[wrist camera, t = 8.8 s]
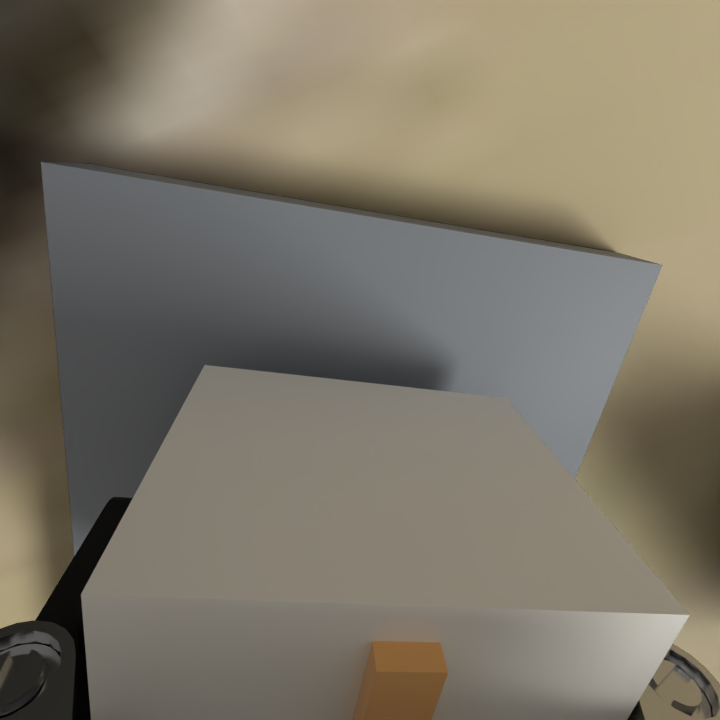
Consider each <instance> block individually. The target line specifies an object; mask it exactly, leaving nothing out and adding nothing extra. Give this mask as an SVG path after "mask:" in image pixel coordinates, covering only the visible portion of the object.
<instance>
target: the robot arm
mask: <svg viewBox="0 0 720 720" xmlns="http://www.w3.org/2000/svg"><path fill="white" fill-rule="evenodd" d="M132 499H133V498H126V497H113V498H111V499H110V500H109V501H108V502H107V504H106V505H105V507H104V508H103V510H102V512H101V513H100V515H99V517H98V518H97V520H96V522H95V523H94V525H93V527H92V528H91V530H90V532H89V533H88V535H87V536H86V538H85V540H84V541H83V543H82V545H81V546H80V548H79V550H78V551H77V553H76V555H75V556H74V558H73V560H72V561H71V563H70V564H69V566H68V568H67V569H66V571H65V573H64V574H63V576H62V578H61V579H60V581H59V583H58V584H57V586H56V588H55V589H54V591H53V593H52V594H51V596H50V597H49V599H48V601H47V602H46V604H45V606H44V607H43V609H42V611H41V612H40V614H39V616H38V617H37V619H36V621H28V622H21V623H16V624H13V625H10V626H7V627H4V628H1V629H0V720H91V713H90V701H89V689H88V676H87V664H86V651H85V639H84V626H83V614H82V601H81V593H82V591H83V590H84V588H85V586H86V584H87V582H88V580H89V579H90V577H91V575H92V573H93V571H94V569H95V567H96V566H97V564H98V562H99V560H100V558H101V556H102V554H103V553H104V551H105V549H106V547H107V545H108V543H109V541H110V540H111V538H112V536H113V534H114V532H115V530H116V528H117V527H118V525H119V523H120V521H121V519H122V517H123V515H124V514H125V512H126V510H127V508H128V506H129V504H130V502H131V501H132ZM627 720H720V684H719V682H718V681H717V680H716V679H715V678H714V676H713V675H712V674H711V673H710V672H709V671H708V670H707V668H706V667H704V666H703V665H702V664H701V663H700V662H699V661H697V660H696V659H695V658H694V657H693V656H692V655H690V654H689V653H687V652H686V651H684V650H682V649H681V648H679V647H678V646H676V645H674V644H672V646H671V647H670V649H669V651H668V652H667V654H666V656H665V657H664V659H663V661H662V662H661V664H660V666H659V667H658V669H657V671H656V672H655V674H654V676H653V677H652V679H651V681H650V682H649V684H648V686H647V687H646V689H645V691H644V692H643V694H642V696H641V697H640V699H639V701H638V702H637V704H636V706H635V707H634V709H633V711H632V712H631V714H630V716H629V717H628V719H627Z"/></svg>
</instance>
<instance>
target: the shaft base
mask: <svg viewBox="0 0 720 720" xmlns="http://www.w3.org/2000/svg"><path fill="white" fill-rule="evenodd" d="M41 170H42V182H43V194H44V205H45V217H46V229H47V241H48V253H49V264H50V276H51V288H52V300H53V312H54V323H55V335H56V347H57V359H58V370H59V382H60V394H61V406H62V418H63V429H64V441H65V453H66V465H67V477H68V488H69V500H70V512H71V524H72V536H73V547H74V556H75V555H76V553H77V551H78V550H79V548H80V546H81V545H82V543H83V541H84V540H85V538H86V536H87V535H88V533H89V532H90V530H91V528H92V527H93V525H94V523H95V522H96V520H97V518H98V517H99V515H100V513H101V512H102V510H103V508H104V507H105V505H106V504H107V502H108V501H109V500H110V499H111V498H113V497H126V498H133V497H134V495H135V493H136V491H137V489H138V488H139V486H140V484H141V482H142V480H143V478H144V476H145V475H146V473H147V471H148V469H149V467H150V465H151V463H152V462H153V460H154V458H155V456H156V454H157V452H158V450H159V449H160V447H161V445H162V443H163V441H164V439H165V437H166V436H167V434H168V432H169V430H170V428H171V426H172V425H173V423H174V421H175V419H176V417H177V415H178V413H179V412H180V410H181V408H182V406H183V404H184V402H185V400H186V399H187V397H188V395H189V393H190V391H191V389H192V387H193V386H194V384H195V382H196V380H197V378H198V376H199V374H200V373H201V371H202V369H203V367H204V365H210V366H219V367H229V368H238V369H247V370H256V371H265V372H274V373H284V374H293V375H302V376H311V377H320V378H329V379H338V380H348V381H357V382H366V383H375V384H384V385H393V386H402V387H412V388H421V389H430V390H439V391H448V392H457V393H467V394H476V395H485V396H494V397H503V398H506V399H507V400H508V401H509V402H510V403H511V405H512V406H513V407H514V408H515V409H516V410H517V412H518V413H519V414H520V415H521V416H522V418H523V419H524V420H525V421H526V422H527V423H528V425H529V426H530V427H531V428H532V429H533V431H534V432H535V433H536V434H537V435H538V436H539V438H540V439H541V440H542V441H543V442H544V443H545V445H546V446H547V447H548V448H549V449H550V451H551V452H552V453H553V454H554V455H555V456H556V458H557V459H558V460H559V461H560V462H561V464H562V465H563V466H564V467H565V468H566V469H567V471H568V472H569V473H570V474H571V475H572V477H573V478H574V479H575V477H576V475H577V472H578V470H579V467H580V465H581V462H582V460H583V458H584V455H585V453H586V450H587V448H588V445H589V443H590V440H591V438H592V436H593V433H594V431H595V428H596V426H597V423H598V421H599V418H600V416H601V414H602V411H603V409H604V406H605V404H606V401H607V399H608V396H609V394H610V392H611V389H612V387H613V384H614V382H615V379H616V377H617V375H618V372H619V370H620V367H621V365H622V362H623V360H624V357H625V355H626V353H627V350H628V348H629V345H630V343H631V340H632V338H633V335H634V333H635V331H636V328H637V326H638V323H639V321H640V318H641V316H642V313H643V311H644V309H645V306H646V304H647V301H648V299H649V296H650V294H651V291H652V289H653V287H654V284H655V282H656V279H657V277H658V274H659V272H660V270H661V267H662V265H660V264H656V263H653V262H649V261H646V260H642V259H638V258H635V257H631V256H628V255H624V254H620V253H616V252H610V251H604V250H598V249H592V248H586V247H580V246H574V245H568V244H562V243H556V242H550V241H544V240H538V239H532V238H527V237H521V236H515V235H509V234H503V233H497V232H491V231H485V230H479V229H473V228H467V227H461V226H455V225H449V224H443V223H437V222H431V221H425V220H419V219H413V218H407V217H402V216H396V215H390V214H384V213H378V212H372V211H366V210H360V209H354V208H348V207H342V206H336V205H330V204H324V203H318V202H312V201H306V200H300V199H294V198H288V197H282V196H277V195H271V194H265V193H259V192H253V191H247V190H241V189H235V188H229V187H223V186H217V185H211V184H205V183H199V182H193V181H187V180H181V179H175V178H169V177H163V176H157V175H152V174H146V173H140V172H134V171H128V170H122V169H116V168H110V167H104V166H98V165H92V164H86V163H71V162H41Z"/></svg>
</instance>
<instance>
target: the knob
mask: <svg viewBox="0 0 720 720" xmlns="http://www.w3.org/2000/svg"><path fill="white" fill-rule="evenodd" d="M81 601H82V614H83V626H84V639H85V651H86V664H87V676H88V689H89V701H90V713H91V720H627V719H628V717H629V716H630V714H631V712H632V711H633V709H634V707H635V706H636V704H637V702H638V701H639V699H640V697H641V696H642V694H643V692H644V691H645V689H646V687H647V686H648V684H649V682H650V681H651V679H652V677H653V676H654V674H655V672H656V671H657V669H658V667H659V666H660V664H661V662H662V661H663V659H664V657H665V656H666V654H667V652H668V651H669V649H670V647H671V646H672V644H673V642H674V641H675V639H676V637H677V636H678V634H679V632H680V631H681V629H682V627H683V626H684V624H685V622H686V621H687V619H688V617H689V616H690V615H689V613H688V612H687V611H686V610H685V609H684V608H683V606H682V605H681V604H680V603H679V602H678V600H677V599H676V598H675V597H674V596H673V595H672V593H671V592H670V591H669V590H668V589H667V588H666V586H665V585H664V584H663V583H662V582H661V580H660V579H659V578H658V577H657V576H656V575H655V573H654V572H653V571H652V570H651V569H650V567H649V566H648V565H647V564H646V563H645V562H644V560H643V559H642V558H641V557H640V556H639V554H638V553H637V552H636V551H635V550H634V549H633V547H632V546H631V545H630V544H629V543H628V541H627V540H626V539H625V538H624V537H623V536H622V534H621V533H620V532H619V531H618V530H617V528H616V527H615V526H614V525H613V524H612V523H611V521H610V520H609V519H608V518H607V517H606V515H605V514H604V513H603V512H602V511H601V510H600V508H599V507H598V506H597V505H596V504H595V503H594V501H593V500H592V499H591V498H590V497H589V495H588V494H587V493H586V492H585V491H584V490H583V488H582V487H581V486H580V485H579V484H578V482H577V481H576V480H575V479H574V478H573V477H572V475H571V474H570V473H569V472H568V471H567V469H566V468H565V467H564V466H563V465H562V464H561V462H560V461H559V460H558V459H557V458H556V456H555V455H554V454H553V453H552V452H551V451H550V449H549V448H548V447H547V446H546V445H545V443H544V442H543V441H542V440H541V439H540V438H539V436H538V435H537V434H536V433H535V432H534V431H533V429H532V428H531V427H530V426H529V425H528V423H527V422H526V421H525V420H524V419H523V418H522V416H521V415H520V414H519V413H518V412H517V410H516V409H515V408H514V407H513V406H512V405H511V403H510V402H509V401H508V400H507V399H506V398H503V397H494V396H485V395H476V394H467V393H457V392H448V391H439V390H430V389H421V388H412V387H402V386H393V385H384V384H375V383H366V382H357V381H348V380H338V379H329V378H320V377H311V376H302V375H293V374H284V373H274V372H265V371H256V370H247V369H238V368H229V367H219V366H210V365H204V367H203V369H202V371H201V373H200V374H199V376H198V378H197V380H196V382H195V384H194V386H193V387H192V389H191V391H190V393H189V395H188V397H187V399H186V400H185V402H184V404H183V406H182V408H181V410H180V412H179V413H178V415H177V417H176V419H175V421H174V423H173V425H172V426H171V428H170V430H169V432H168V434H167V436H166V437H165V439H164V441H163V443H162V445H161V447H160V449H159V450H158V452H157V454H156V456H155V458H154V460H153V462H152V463H151V465H150V467H149V469H148V471H147V473H146V475H145V476H144V478H143V480H142V482H141V484H140V486H139V488H138V489H137V491H136V493H135V495H134V497H133V499H132V501H131V502H130V504H129V506H128V508H127V510H126V512H125V514H124V515H123V517H122V519H121V521H120V523H119V525H118V527H117V528H116V530H115V532H114V534H113V536H112V538H111V540H110V541H109V543H108V545H107V547H106V549H105V551H104V553H103V554H102V556H101V558H100V560H99V562H98V564H97V566H96V567H95V569H94V571H93V573H92V575H91V577H90V579H89V580H88V582H87V584H86V586H85V588H84V590H83V591H82V593H81Z"/></svg>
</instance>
